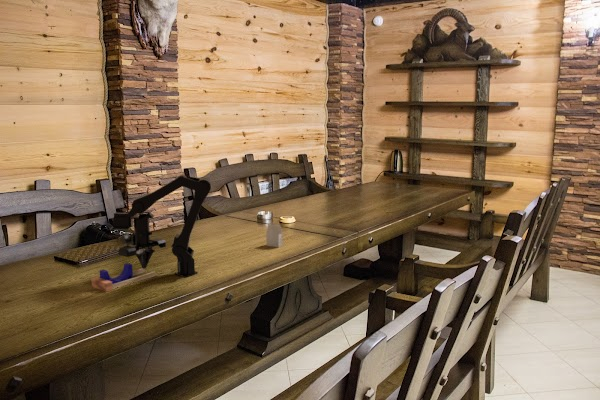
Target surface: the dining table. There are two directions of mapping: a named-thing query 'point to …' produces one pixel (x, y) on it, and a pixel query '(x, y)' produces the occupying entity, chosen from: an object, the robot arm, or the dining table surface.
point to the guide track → (108, 285)
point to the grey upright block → (274, 236)
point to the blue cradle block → (125, 275)
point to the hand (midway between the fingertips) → (144, 268)
